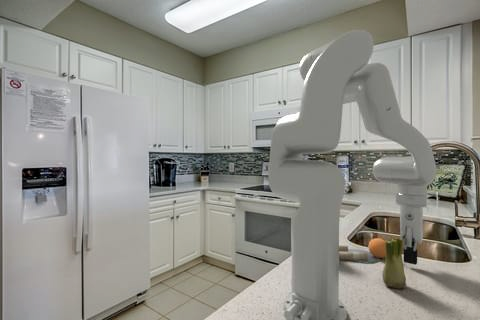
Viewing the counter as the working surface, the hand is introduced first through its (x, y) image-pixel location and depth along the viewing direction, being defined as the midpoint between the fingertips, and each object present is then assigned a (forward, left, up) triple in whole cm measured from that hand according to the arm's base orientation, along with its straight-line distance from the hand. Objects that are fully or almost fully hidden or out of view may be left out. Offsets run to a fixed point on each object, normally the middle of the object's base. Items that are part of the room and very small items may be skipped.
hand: (410, 262), depth 73 cm
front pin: (-2, +11, 0) cm, 11 cm away
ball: (+3, +9, +2) cm, 9 cm away
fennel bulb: (-15, +2, -2) cm, 15 cm away
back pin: (0, +17, 0) cm, 17 cm away
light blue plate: (0, +14, -2) cm, 14 cm away
